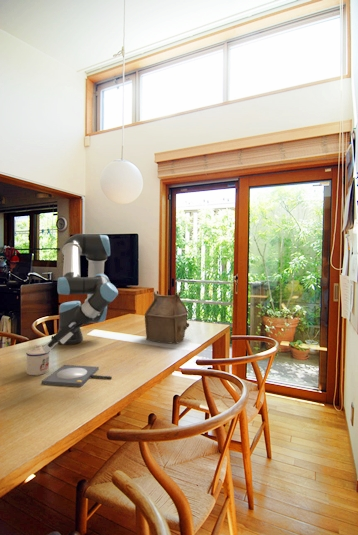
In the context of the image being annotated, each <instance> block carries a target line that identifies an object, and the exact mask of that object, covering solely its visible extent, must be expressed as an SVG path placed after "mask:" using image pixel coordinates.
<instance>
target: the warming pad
mask: <svg viewBox="0 0 358 535" xmlns="http://www.w3.org/2000/svg"><path fill="white" fill-rule="evenodd" d="M99 368H100V367H99V366H91V365H77V364H76V365H74V364H63V365H62V366H60V367H59V368H58V369H56V370H55V371H53V372H52V373H51V374H49V375H47V376H46V377H45V378H44V379H42V380H41V385H52V386H53V385H54V386H65V387H66V386H68V387H83V386H84V385H85V383H87V381H89V380H90V379H91V378H93V379H105V380H106V379H107V380H112V377H113V376H110V375H99V374H98V375H97V374H96V373H97V372H98V371H99ZM95 374H96V375H95Z"/></svg>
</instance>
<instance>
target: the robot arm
mask: <svg viewBox="0 0 358 535" xmlns="http://www.w3.org/2000/svg"><path fill="white" fill-rule="evenodd" d="M61 253H62V255H63V269H62V277H60V276H59V277H58V278H57V288H56V289H57V294H58V295H66V296H69V295H73V296H74V295H87V298H86V299H85V300H84V302H83V303H81V301H80V300H72V301H67V302H63V303H61V304H60V305H59V308H58V309H59V310H58V311H59V312H58V314H59V316H58V319H59V320H58V331H57V332H56V334H54V335H52V336H51V339H50V340H49V341H48V342H47V343H46V344H45V345H44V346H42V347H43V348H42V349H43V350H44V351H45V353H46V354H47V353H48V352H49V351H50V352H51V350H52V349H53V348H55V346H56V345H62V346H64V345H65V346H67V345H76V344H80V343H82V342H83V341H84V336H83V332H82V329H81V327H83V325H85V326H88V325H89V324H90V323H91V324H93V323H94V324H95V323H97V324H98V323H102V322H104V321H106V318H107V312H108V306H109V305H110V304H111V303H112V302H113V301H114V300H115V299H116V297H118V295H119V291H118V289H117V287H116V286H115V285H114V284H113V283H111V281H110V279H109V277H108V276H107V275H106V274H105V273H104V272H105V262H106V261H107V260H108V257H110V256H111V243H110V238H109V236H108V235H107V234H100V233H99V234H95V233H94V234H93V233H77V234H73V235H72V236H70V237H68V238H67V239H66V240H65V241H64V243H63V245H62V250H61ZM81 256H85V258H86V260H87V261H88V268H87V270H88V271H87V275H88V276H86V277H85V276H82V277H81ZM50 352H49V353H50Z"/></svg>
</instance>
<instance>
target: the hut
mask: <svg viewBox="0 0 358 535" xmlns="http://www.w3.org/2000/svg"><path fill="white" fill-rule="evenodd" d="M188 315H189V310H188V309H187V308H186V305H185V304H184V303H183V301H182V300H181V292H180V291H178V292H175V295H162V294H160V293H159V291H158V290H156V291H153V301H152V303H151V304H150V306H148V308H147V309H146V311H145V314H144V322H145V323H144V324H145V325H144V326H145V334H146V335H145V337H146V338H145V339H146V340H147V341H148V340H149V341H152V342H156V343H160V344H162V343H163V344H175V345H176V344H178V343H181V341H183V340H184V338H185V334H186V330H187V329H188V328H189V327H190V323H189V322H187V321H188Z"/></svg>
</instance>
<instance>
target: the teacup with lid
mask: <svg viewBox="0 0 358 535" xmlns="http://www.w3.org/2000/svg"><path fill="white" fill-rule="evenodd" d="M43 347H44V346H42V344H39V343H38V344H35V346H34V347H32V348H30V349H28V350H27V351H26V374H27V375H29V376H40V375H44V374H46V373H48V372H49V370H50V352H51V350H50V351H49V352H48V353H47V354H46V353H45V351H44V350H43V349H42V348H43Z"/></svg>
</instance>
